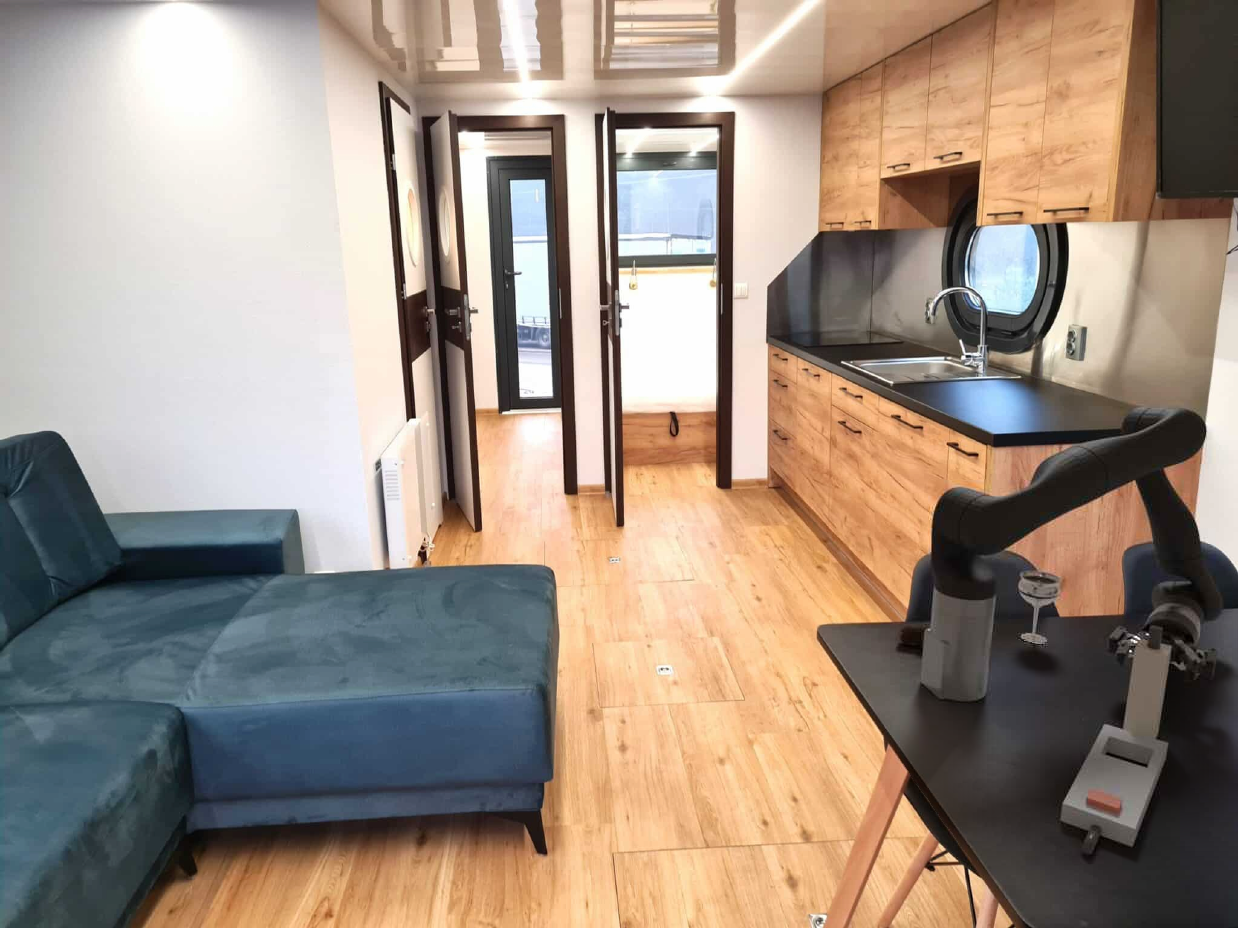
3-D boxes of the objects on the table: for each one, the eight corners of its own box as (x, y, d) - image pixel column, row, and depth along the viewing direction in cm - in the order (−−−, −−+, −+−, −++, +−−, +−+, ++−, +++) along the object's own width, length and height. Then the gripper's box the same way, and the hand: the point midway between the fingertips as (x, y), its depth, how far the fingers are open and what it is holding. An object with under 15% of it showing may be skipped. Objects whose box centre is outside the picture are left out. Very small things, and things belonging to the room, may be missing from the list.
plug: (1153, 744, 128) (1170, 636, 124) (1122, 735, 130) (1137, 628, 126) (1158, 732, 131) (1174, 626, 127) (1127, 724, 133) (1143, 619, 129)
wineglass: (1061, 645, 160) (1069, 582, 157) (1028, 648, 158) (1035, 585, 155) (1037, 629, 166) (1044, 569, 163) (1005, 632, 165) (1011, 572, 162)
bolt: (899, 651, 162) (987, 659, 158) (900, 649, 157) (991, 656, 153) (900, 619, 163) (987, 626, 159) (901, 616, 159) (991, 622, 154)
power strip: (1123, 869, 103) (1127, 844, 102) (1049, 840, 108) (1052, 817, 107) (1165, 758, 125) (1169, 737, 124) (1102, 739, 129) (1105, 718, 129)
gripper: (1125, 600, 148) (1104, 632, 136) (1227, 621, 140) (1214, 658, 127) (1119, 641, 150) (1098, 676, 138) (1219, 665, 141) (1206, 705, 129)
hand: (1154, 667), depth 133 cm, fingers open, 8 cm apart
